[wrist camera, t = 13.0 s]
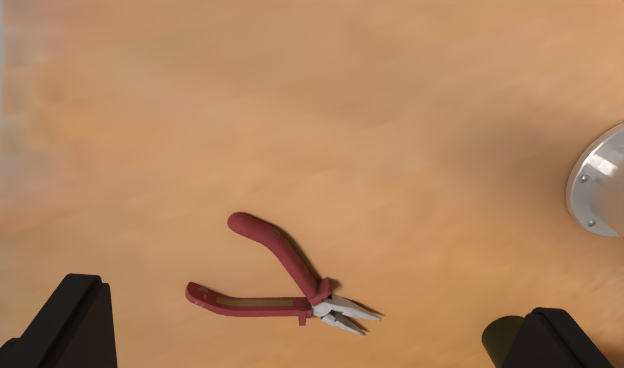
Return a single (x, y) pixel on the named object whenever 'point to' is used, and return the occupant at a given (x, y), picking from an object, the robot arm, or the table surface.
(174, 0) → the table surface
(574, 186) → the robot arm
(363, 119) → the table surface
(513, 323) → the wine bottle
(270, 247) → the pliers
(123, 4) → the table surface
